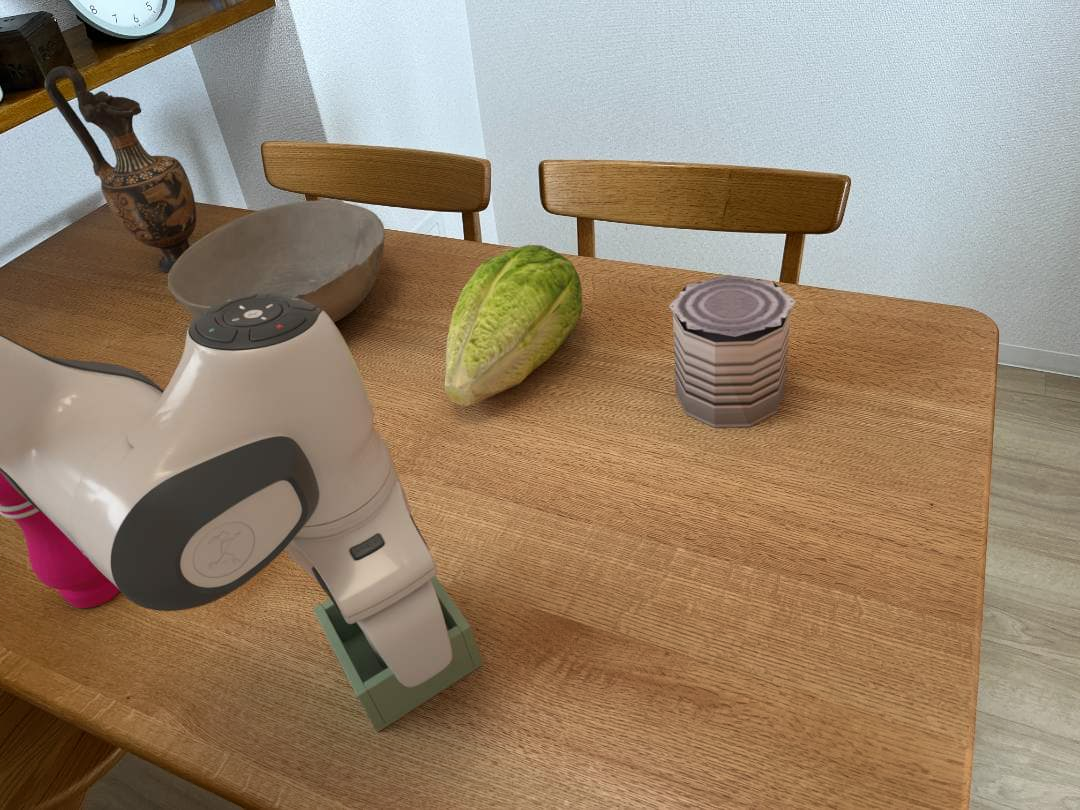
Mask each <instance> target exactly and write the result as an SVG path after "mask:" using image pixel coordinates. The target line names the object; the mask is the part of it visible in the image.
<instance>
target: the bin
mask: <svg viewBox="0 0 1080 810" xmlns="http://www.w3.org/2000/svg"><path fill="white" fill-rule="evenodd" d="M430 580H431V582H432V584H433V587H434V589H435V592H436V594H437V597H438V600H439V603H440V606H441V609H442V613H443V616H444V620H445V624H446V628H447V631H448V635H449V639H450V643H451V648H452V660H451V662H450V663H449V665H448V666H447V667H446V668H444V669H443V670H442V671H440V672H439V673H438V674H436V675H435V676H433V677H432V678H430V679H428V680H426V681H425V682H423V683H421V684H419V685H417V686H414V687H405V686H404V685H402V684H401V683H400V682H399V681H398V680H397V678H396V677H395V676H394V674H393V673H392V672H391V670H390V669H389V667H388V668H387V669H385V670H384V669H383V668H382V667H381V666H380V664H379V662H378V661H377V659H376V657H375V655H374V653H373V651H372V649H371V647H370V645H369V643H368V641H367V639H366V637H365V635H364V632H363V631H362V630H361V628H360V627H359V625H358V624H357V622H356V623H353V624H349V623H347V622H346V621H345V619H344V617H343V615H342V614H341V612H338V610H337V608H336V607H335V605H334V604H333V602H332V600H331V599H330V598H328V599H326V600H325V601H322V602H321V603H319V604H317V605H316V606H314V607H312V610H313V613H314V615H315V617H316V618H317V620H318V623H319V624H320V627H321V629H322V630H323V632H324V634H325V636H326V638H327V640H328V642H329V644H330V646H331V648H332V650H333V652H334V654H335V656H336V657H337V660H338V662H339V664H340V666H341V668H342V670H343V672H344V674H345V676H346V678H347V679H348V681H349V683H350V685H351V687H352V689H353V691H354V693H355V695H356V697H357V699H358V701H359V702H360V704H361V706H362V708H363V709H364V711H365V713H366V715H367V716H368V718H369V720H370V722H371V724H372V726H373V728H374V729H375V731H376V733H379V732H380V731H382V730H384V729H385V728H386V727H389V726H390V725H391V724H394V723H395V722H396V721H398V720H399V719H401V718H402V717H405V715H407V714H409V713H410V712H412V711H413V710H415V709H416V708H418V707H419V706H421V705H423V704H424V703H426V702H428V701H429V700H430V699H432V698H434V697H435V696H437V695H438V694H440V693H442V692H443V691H445V690H446V689H447V688H449V687H450V686H453V685H454V684H455V683H457V682H459V681H460V680H461V679H462V680H463V678H465V677H467V676H468V675H470V674H471V673H472V672H474V671H476V670H477V669H479V668H480V667H482V666H484V661H483V659H482V655H481V653H480V650H479V647H478V644H477V641H476V638H475V635H474V632H473V628H472V626H471V625H470V623H469V622H468V621H467V619H466V617H465V616H464V614H463V613H462V611H461V610H460V609H459V607H458V606H457V605H456V603H455V601H454V600H453V599H452V597H451V596H450V595H449V593H448V592H447V590H446V588H445V587H444V586H443V584H442V583H441V581H440V580H439V579H438V577H437V575H435V576H434V577H433V578H432V579H430Z"/></svg>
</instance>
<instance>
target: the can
mask: <svg viewBox="0 0 1080 810" xmlns="http://www.w3.org/2000/svg"><path fill="white" fill-rule="evenodd" d="M795 303H796V300H795V299H794V298H793V297H792V296H790V295H789V294H788V293H787V292H786V291H785V290H784V289H782V287H780V285H778V284H777V283H775V281H773V280H768V279H762V278H761V279H760V278H753V277H747V276H739V275H732V274H726V275H722V276H718V277H713V278H710V279H706V280H701V281H697V282H693V283H688V284H686V285H685V286H684V288H683V289H682V290H681V291H680V292H679V294H677V296H676V297H675V299H673V301H672V302H671V303H670V305H668V307H669V309H670V310H671V311H672V324H673V354H674V381H675V382H674V383H675V384H674V385H675V395H676V398H677V399H678V402H679V403H680V405H681V407H682V409H683V412H684V413H685V415H686V416H688V417H691V418H692V419H694V420H697V421H699V422H701V423H704V424H706V425H707V426H710V427H712V428H714V429H717V428H718V429H720V428H723V429H724V428H727V429H728V428H751V427H753V426H755V425H757V424H759V423H761V422H762V421H764V420H766V419H769V418H770V417H772V416H774V415H776V414H777V413H778V410H779V408H780V405H781V402H782V399H783V397H784V394H785V385H786V375H787V362H788V361H787V360H788V350H789V338H790V337H789V336H790V325H791V313H792V308H793V307H794V305H795Z"/></svg>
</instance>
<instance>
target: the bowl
mask: <svg viewBox="0 0 1080 810" xmlns="http://www.w3.org/2000/svg"><path fill="white" fill-rule="evenodd" d="M385 231H386V230H385V227H384V224H383V222H382V220H381V219H380V218H379V216H378V215H377V214H376V213H375V212H374V211H372V210H370V209H368V208H366V207H362V206H359V205H356V204H352V203H349V202H345V201H341V200H327V199H326V200H325V199H321V200H317V199H316V200H305V201H298V202H292V203H286V204H281V205H275V206H271V207H267V208H264V209H259V210H256V211H254V212H251V213H247V214H246V215H243V216H241V217H239V218H238V217H237V218H236V219H234V220H232V221H229V222H227V223H225V224H222V225H221V226H219V227H217V228H216V229H214V230H212V231H211V232H209V233H207V234H206V235H204V236H203V237H201V238H200V239H198V240H197V241H195V242H194V243H193V244H192V245H190V247H189V248H188V249H187V250H186V251H185V252H184V253H183V254H182V255H181V256H180V257H179V258H178V260H177V261H176V262H175V263H174V265H173V266H172V268H171V270H170V272H168V274H167V275H168V276H167V286H168V287H167V288H168V290H169V292H170V293H171V294H172V295H173V297H174V298H175V299H176V301H177V302H178V303H179V304H180V305H181V306H182V307H183V308H184V309H185V311H187V312H188V313H189V314H190V315H191V316H192V317H194V319H195V318H196V317H197V316H198V315H199V314H200V313H202V312H203V311H205V310H206V309H208V308H210V307H212V306H213V305H215V304H217V303H220V302H222V301H225V300H227V299H231V298H234V297H238V296H242V295H247V294H254V293H255V294H262V293H280V294H286V295H290V296H294V297H297V298H300V299H303V300H305V301H307V302H309V303H312V304H314V305H316V306H318V307H319V308H321V309H322V310H323V311H324V312H325V313H326V314H327V315H328V316H329V317H330V318H331V320H332V321H333V322H334V324H335V323H336V322H338V321H340V320H342V319H343V318H345V317H346V316H348V315H349V314H350V313H352V312H353V311H354V310H355V309H357V308H358V307H359V306H360V305H361V303H362V302H363V301H364V300H365V299H366V298H367V296H368V295H369V293H370V292H371V290H372V288H373V286H374V285H375V282H376V280H377V277H378V274H379V271H380V268H381V265H382V262H383V258H384V252H385V236H386V232H385Z"/></svg>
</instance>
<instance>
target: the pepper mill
mask: <svg viewBox="0 0 1080 810" xmlns="http://www.w3.org/2000/svg"><path fill="white" fill-rule="evenodd" d="M0 515H1V516H2V517H4V518H6V519H8V520H13V521H15V523H17V525H18V526H19V528H20V530H21V532H22V533H23V535H24V538H25V542H26V546H27V554H28V559H29V563H30V565H31V568H32V571H33V572H34V574H35V576H36V577H37V578H38V580H39V581H40V582H41V583H42V584H43V585H45V586H46V587H48V588H50V589H54V590H58V592H59V594H60V595H61V596H62V597H63V599H64V600H65V601H66V602H67V604H69V605H70V606H72V607H74V608H77V609H91V608H95V607H97V606H100V605H103V604H105V603H107V602H108V601H110V600H112V599H113V598H114V597H116V596H117V595H119V594H120V593H121V591H120V590H119V589H118V588H117V587H116V586H115V585H114V584H113V583H112V582H111V581H110V580H108V579H107V578H106V577H105V576H104V575H103V574H102V573H101V572H100V571H99V570H98V569H97V568H96V567H95V566H94V565H93V564H92V562H91V561H90V560H89V558H88V557H86V556H85V555H84V554H83V553H82V552H81V550H80V549H79V548H78V547H77V546H76V545H75V544H74V543H73V542H72V541H71V540H70V539H69V538H68V537H67V536H66V535H65V534H64V533H63V532H62V531H61V530H60V529H59V528H58V527H57V526H56V525H55V524H54V523H53V522H52V521H51V520H50V519H49V518H48V517H47V516H46V515H45V514H44V513H42V512H41V511H39V510H38V509H37V508H36V507H34V506H33V505H32V504H31V503H30V502H29V501H28V500H26V499H25V498H24V497H23V496H22V495H21V494H20V493H19V492H17V491H16V490H15V489H14V487H13V486H12V485H11V484H10V483H9V482H8V481H7V479H6V478H5V477H4V476H3V475H2V473H1V472H0Z"/></svg>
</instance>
